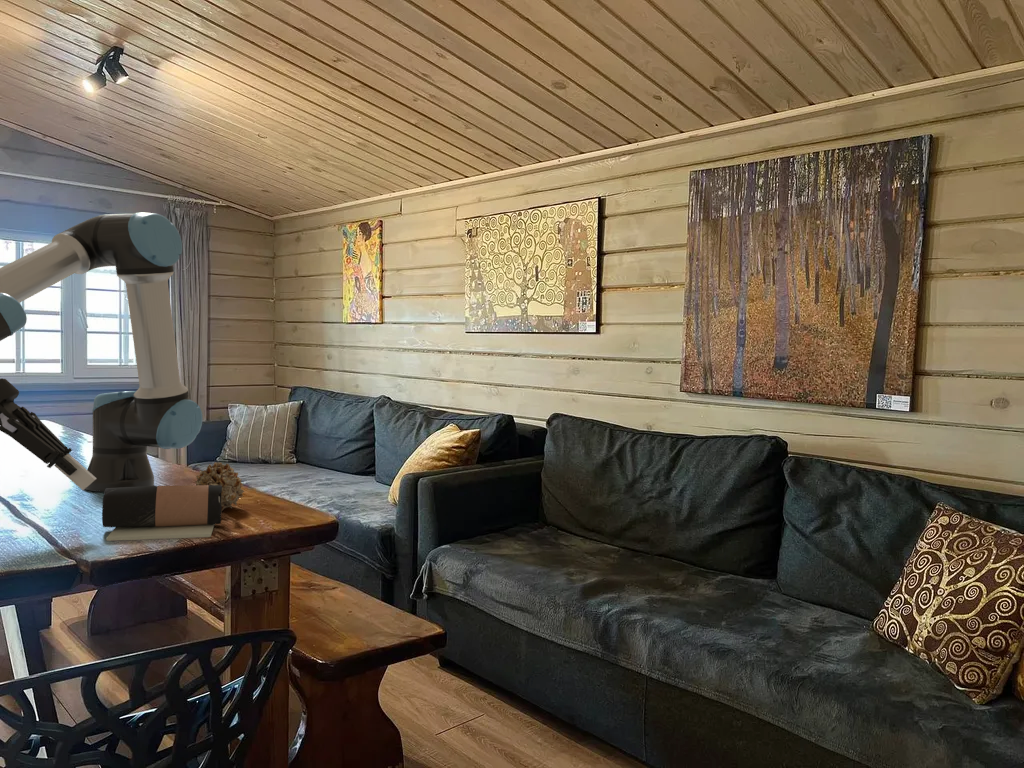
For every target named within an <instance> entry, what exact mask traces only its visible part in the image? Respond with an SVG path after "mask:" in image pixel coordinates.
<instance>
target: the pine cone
mask: <svg viewBox="0 0 1024 768" xmlns="http://www.w3.org/2000/svg"><path fill="white" fill-rule="evenodd" d="M238 476H239V472H236V471H235V469H234V468H233V467H231V466H230V463H224V464H223V463H222V461H220V462H219V461H218V462H216V461H215V462H214V463H213V464H212V465H211V464H210V463H209V464H208V466H206V469H205V470H201V469H199V474H197V475H195V478H196V481H194V483H195V484H196V485H208V486H209V485H222V492H221V506H222V512H223V511H224V510H225V509H228V508H230V509H232V510H233V505H234V506H238V505H237V503H238V500H239V499H240V498H243V497H244V495H243V493H244V492H245V490H244V489H242V487H243V486H244V484H243V483H242V480H243V479H242V478H241V477H238Z"/></svg>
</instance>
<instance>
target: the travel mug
mask: <svg viewBox="0 0 1024 768" xmlns="http://www.w3.org/2000/svg"><path fill="white" fill-rule="evenodd" d="M221 492H222V485H209V486H208V485H194V484H193V485H154V486H142V487H120V488H106V489H105V491H104V492H103V496H102V497H103V498H102V508H101V509H102V511H101V512H102V513H101V520H102V527H103V528H115V527H155V526H156V527H163V526H185V525H206V524H215V525H220V524H222V512H223V511H222V506H221Z"/></svg>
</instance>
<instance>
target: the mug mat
mask: <svg viewBox="0 0 1024 768" xmlns="http://www.w3.org/2000/svg"><path fill="white" fill-rule="evenodd" d="M215 525H216V524H206V525H185V526H163V527H156V526H155V527H114V528H113V530H112V531H111V532H110V533H109V534H108V536H106V542H110V541H111V542H112V541H113V542H114V541H139V540H140V541H141V540H163V539H165V540H168V539H169V540H170V539H193V538H211V537H212V533H213V530H214V527H215Z"/></svg>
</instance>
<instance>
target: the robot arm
mask: <svg viewBox="0 0 1024 768" xmlns="http://www.w3.org/2000/svg"><path fill="white" fill-rule="evenodd" d="M182 253H183V243H182V238H181V234H180V232H179V230H178V229H177V227H176V225H175V224H174V223H173V222H171V220H170V219H169V218H167V217H166V216H164V215H162V214H159V213H155V212H152V213H151V212H144V211H143V212H142V211H141V212H130V213H129V212H128V213H109V214H108V213H105V214H100V215H97V216H94V217H91V218H88V219H86V220H84V221H82V222H79V223H77V224H76V225H73V226H72V227H69V228H68V229H67V228H66V229H65V230H63V231H61V232H59V233H58V234H55V235H54V236H53V237H52V240H51V242H50V243H49V244H46V245H44V246H42V247H41V248H38V249H35V250H34V251H32V252H30V253H28V254H26V255H24V256H21V257H19V258H18V259H15V260H14V261H11V262H9V263H8V264H5V265H4V266H0V342H2V341H3V340H5V339H6V338H8V337H12V336H14V334H15V333H16V332H18V331H19V330H21V329H22V328H24V327H25V325H26V323H27V319H28V318H27V313H26V311H25V310H24V308H23V306H22V304H21V302H24V301H26V300H27V299H29V298H31V297H33V296H35V295H37V294H38V293H40V292H42V291H44V290H46V289H49V288H50V287H52V286H54V285H55V284H57V283H59V282H61V281H62V280H64V279H66V278H68V277H70V276H72V275H75V274H77V275H83V274H86V273H87V272H90V271H92V270H95V269H97V268H105V267H106V268H107V267H115V271H116V277H118V278H120V279H121V280H122V281H123V282H124V283H125V288H126V295H127V302H128V310H129V316H130V317H129V318H130V323H131V324H130V325H131V326H130V327H131V332H132V338H133V339H132V340H133V347H134V355H135V361H136V371H137V376H138V384H139V386H138V389H136V390H129V391H116V392H105V393H104V392H103V393H99V394H97V395H96V396H95V397H94V399H93V407H92V410H91V411H92V455H91V456H92V457H91V459H90V461H89V464H88V467H87V469H86V467H85V466H83V464H81V463H80V462H79V461H78V460H77V459H75V458H74V457H73V456H72V455H71V454H70V453H71V452H73V449H72V448H71V447H69V448H68V446H66V445H65V444H64V443H63V442H62V441H61V440H60V439H59V437H57V436H56V434H54V433H53V432H52V431H51V429H49V428H48V427H47V425H46V424H44V422H42V421H41V420H40V418H39V417H38V416H37V414H36V413H35V412H33V411H29V410H28V409H27V408H26V407H24V406H19V405H18V404H17V403H15V402H14V401H15V399H17V398H18V396H20V395H19V394H20V391H19V389H18V388H16V387H15V386H14V385H13V384H12V383H10V381H9V380H7V378H1V377H0V432H1V433H2V432H3V433H4V434H5V435H7V436H9V437H10V438H11V439H13V440H15V442H17V443H18V444H19V445H20V446H23V448H25V449H26V450H28V451H29V452H30V453H31V454H33V455H34V456H36V457H37V458H38V459H39V460H41V462H43V463H44V464H45V465H46V467H47V468H48V469H51V468H52V467H55V468H57V470H58V471H60V472H61V473H62V474H63V475H64V476H65V477H67V478H68V479H69V480H70V481H72V483H74V484H75V485H76V486H77V487H78V488H79V489H80V490H82V491H84V490H86V491H92V492H102V493H104V491H105V489H106V488H120V487H142V486H155V476H154V472H153V469H152V466H151V463H150V460H149V457H148V454H147V453H148V447H151V448H160V449H163V450H171V449H176V450H177V449H183V448H186V447H187V446H190V445H191V444H192V443H193V442H195V439H197V435H199V433H200V432H201V429H202V425H203V420H204V419H203V411H202V409H201V407H200V405H198V403H197V402H196V401H194V400H192V399H190V393H189V388H188V387H187V386H186V385H184V384H183V383H182V382H181V379H180V378H181V377H180V370H179V362H178V355H177V346H176V338H175V331H174V321H173V314H172V305H171V297H170V290H169V282H168V281H169V279H170V278H171V276H173V274H174V273H175V271H174V264H176V263H177V262H178V261H179V260H180V256H181V255H182Z"/></svg>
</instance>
